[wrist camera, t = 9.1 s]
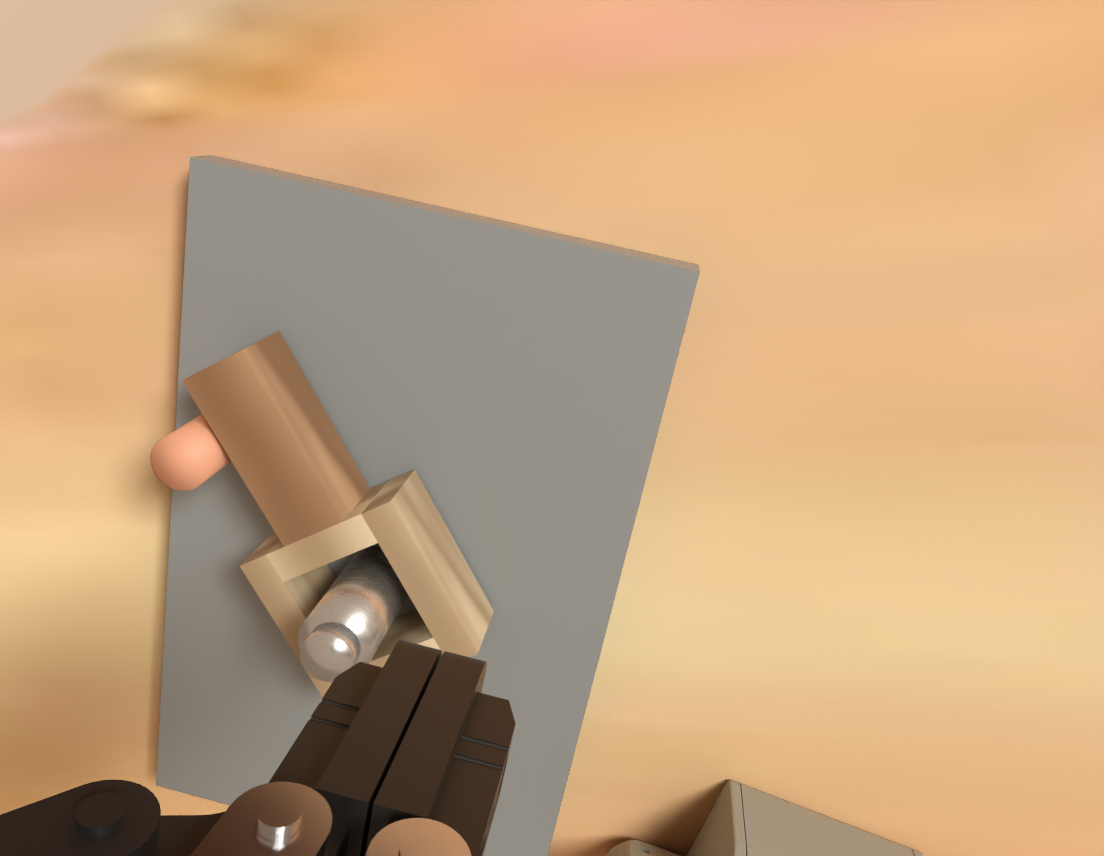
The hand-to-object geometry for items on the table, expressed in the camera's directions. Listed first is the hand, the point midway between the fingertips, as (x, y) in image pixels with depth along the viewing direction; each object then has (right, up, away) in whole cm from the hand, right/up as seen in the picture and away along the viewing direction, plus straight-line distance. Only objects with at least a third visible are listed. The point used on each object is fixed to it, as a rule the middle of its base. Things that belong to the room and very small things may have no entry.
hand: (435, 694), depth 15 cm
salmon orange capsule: (-10, +4, +19) cm, 22 cm away
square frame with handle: (-6, +2, +19) cm, 20 cm away
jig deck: (-4, -1, +22) cm, 22 cm away
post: (-5, -1, +20) cm, 21 cm away
